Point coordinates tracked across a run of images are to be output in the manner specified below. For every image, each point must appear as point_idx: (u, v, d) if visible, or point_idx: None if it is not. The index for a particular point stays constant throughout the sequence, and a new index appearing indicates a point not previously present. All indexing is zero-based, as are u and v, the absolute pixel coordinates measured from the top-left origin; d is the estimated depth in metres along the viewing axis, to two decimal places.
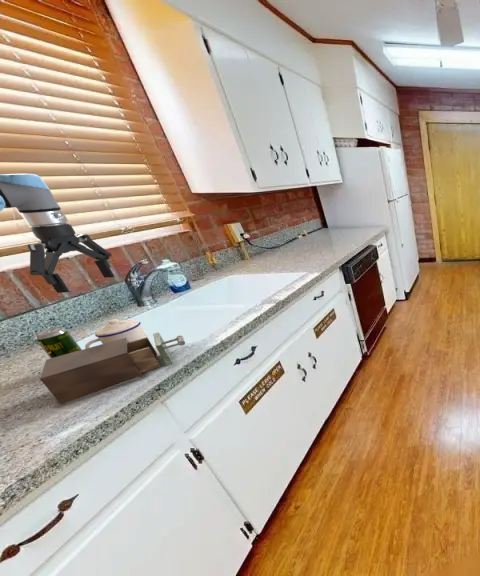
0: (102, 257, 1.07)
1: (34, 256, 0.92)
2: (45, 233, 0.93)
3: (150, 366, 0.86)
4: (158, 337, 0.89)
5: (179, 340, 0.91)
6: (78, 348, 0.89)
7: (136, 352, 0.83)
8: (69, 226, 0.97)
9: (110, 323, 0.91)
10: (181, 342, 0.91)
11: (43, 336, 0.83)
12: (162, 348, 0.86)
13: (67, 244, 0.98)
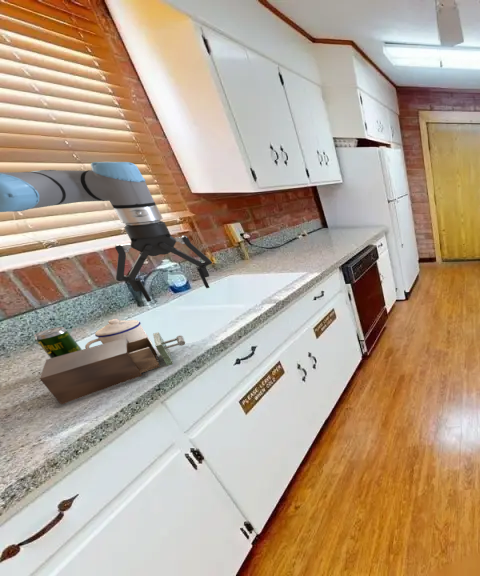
0: (198, 265, 0.90)
1: None
2: (128, 233, 0.78)
3: (150, 366, 0.86)
4: (158, 337, 0.89)
5: (179, 340, 0.91)
6: (78, 348, 0.89)
7: (136, 352, 0.83)
8: (154, 226, 0.80)
9: (110, 323, 0.91)
10: (181, 342, 0.91)
11: (43, 336, 0.83)
12: (162, 348, 0.86)
13: (156, 246, 0.83)
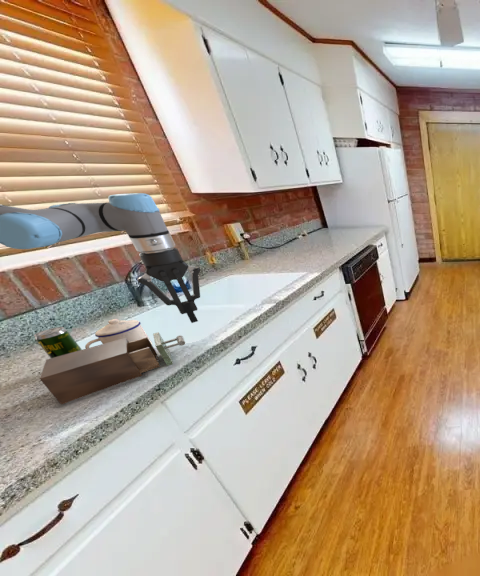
0: (188, 298, 0.90)
1: None
2: (143, 261, 0.82)
3: (150, 366, 0.86)
4: (158, 337, 0.89)
5: (179, 340, 0.91)
6: (78, 348, 0.89)
7: (136, 352, 0.83)
8: (168, 254, 0.83)
9: (110, 323, 0.91)
10: (181, 342, 0.91)
11: (43, 336, 0.83)
12: (162, 348, 0.86)
13: (170, 272, 0.86)
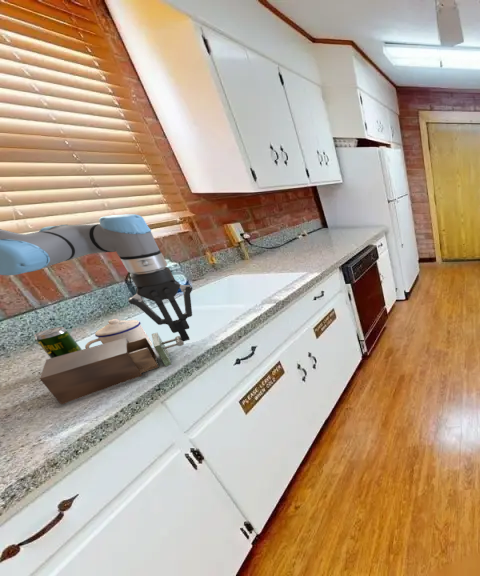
0: (180, 317, 0.90)
1: None
2: (134, 281, 0.81)
3: (148, 367, 0.86)
4: (156, 337, 0.89)
5: (178, 340, 0.91)
6: (78, 348, 0.89)
7: (134, 353, 0.83)
8: (159, 274, 0.83)
9: (110, 323, 0.91)
10: (180, 342, 0.91)
11: (43, 336, 0.83)
12: (160, 348, 0.86)
13: (161, 292, 0.86)
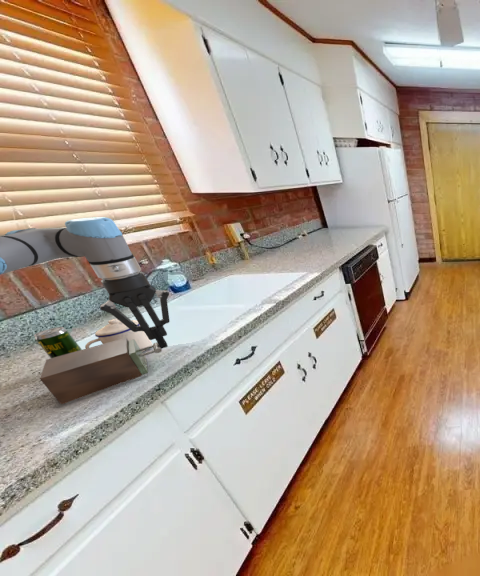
0: (156, 323, 0.87)
1: None
2: (106, 287, 0.78)
3: None
4: (133, 344, 0.86)
5: (155, 347, 0.88)
6: (78, 348, 0.89)
7: None
8: (132, 280, 0.80)
9: (110, 323, 0.91)
10: (157, 349, 0.87)
11: (43, 336, 0.83)
12: (136, 356, 0.83)
13: (136, 298, 0.82)
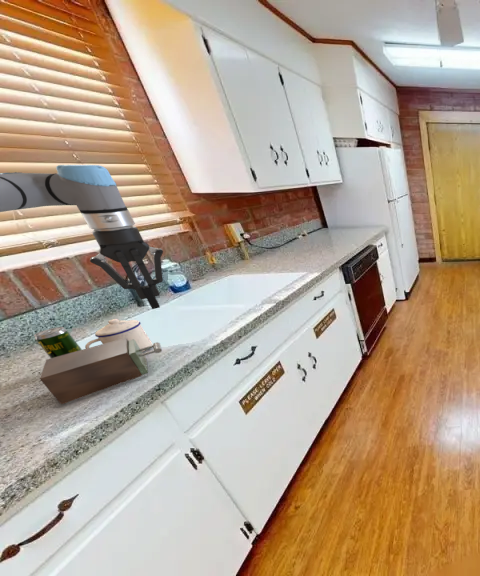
0: (148, 282, 0.84)
1: None
2: (97, 239, 0.75)
3: None
4: (133, 344, 0.86)
5: (155, 347, 0.88)
6: (78, 348, 0.89)
7: None
8: (125, 232, 0.77)
9: (110, 323, 0.91)
10: (157, 349, 0.87)
11: (43, 336, 0.83)
12: (136, 356, 0.83)
13: (128, 253, 0.79)
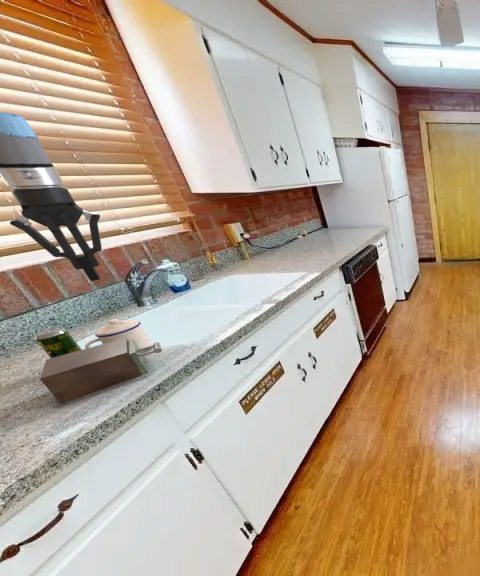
0: (84, 250, 0.76)
1: None
2: (16, 198, 0.67)
3: None
4: (133, 344, 0.86)
5: (155, 347, 0.88)
6: (78, 348, 0.89)
7: None
8: (49, 192, 0.69)
9: (110, 323, 0.91)
10: (157, 349, 0.87)
11: (43, 336, 0.83)
12: (136, 356, 0.83)
13: (56, 216, 0.71)
